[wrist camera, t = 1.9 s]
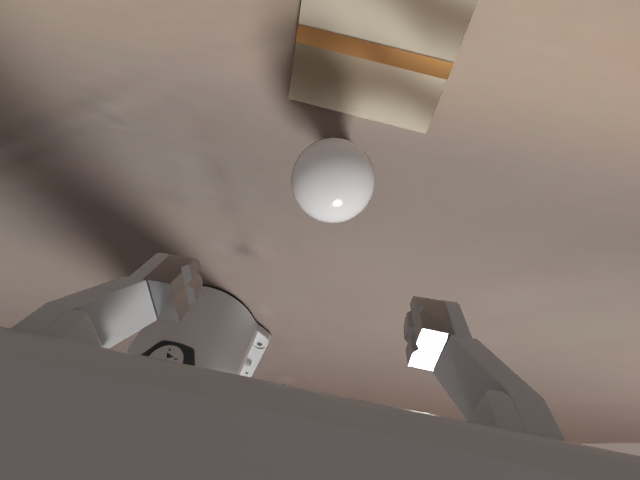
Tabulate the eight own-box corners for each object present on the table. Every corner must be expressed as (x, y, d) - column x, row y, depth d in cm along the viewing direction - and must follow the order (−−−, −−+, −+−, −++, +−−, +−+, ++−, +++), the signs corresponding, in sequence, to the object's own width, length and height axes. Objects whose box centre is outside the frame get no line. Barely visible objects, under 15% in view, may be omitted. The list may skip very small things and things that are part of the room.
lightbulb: (376, 124, 27) (382, 151, 17) (369, 188, 30) (370, 241, 21) (309, 120, 27) (279, 145, 18) (309, 184, 31) (283, 233, 21)
